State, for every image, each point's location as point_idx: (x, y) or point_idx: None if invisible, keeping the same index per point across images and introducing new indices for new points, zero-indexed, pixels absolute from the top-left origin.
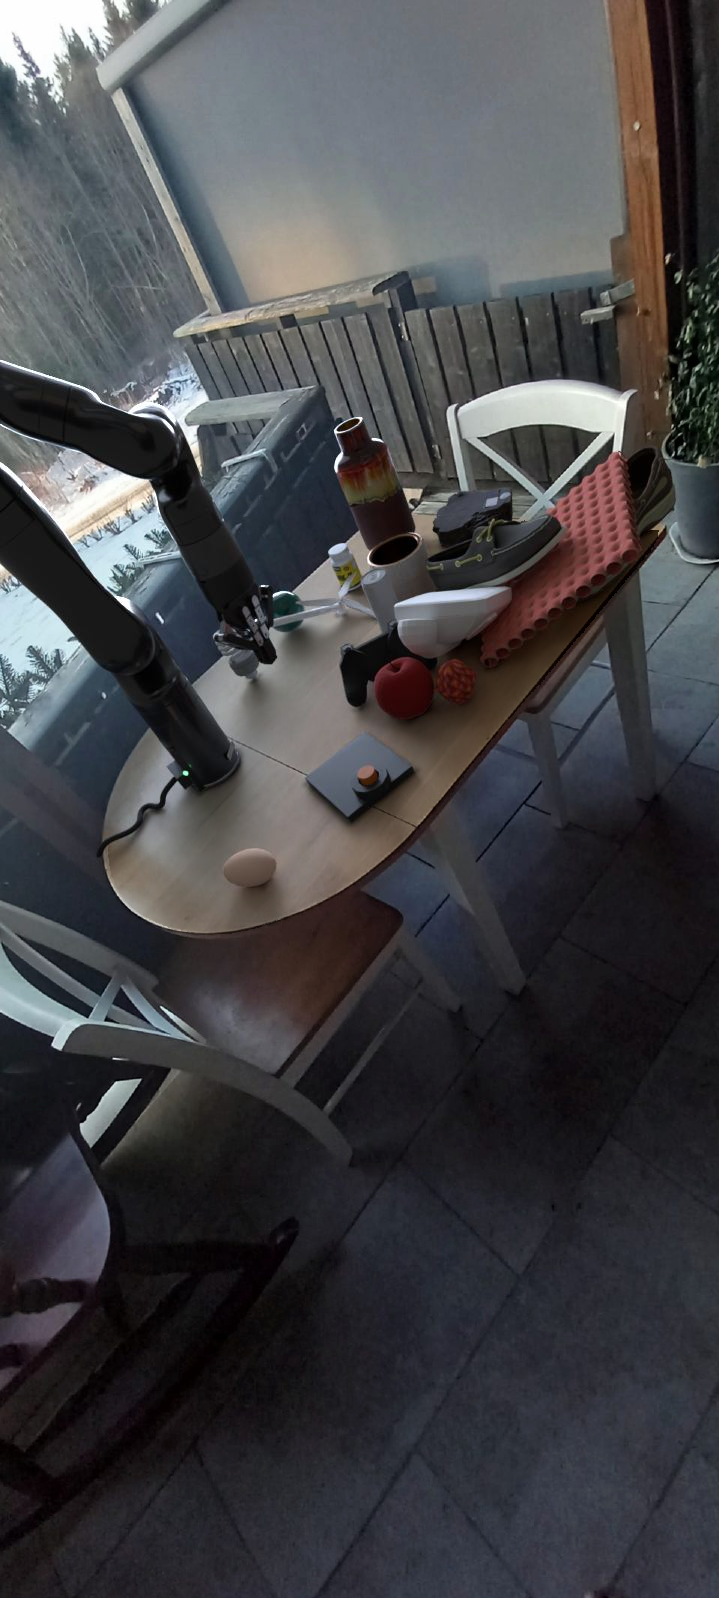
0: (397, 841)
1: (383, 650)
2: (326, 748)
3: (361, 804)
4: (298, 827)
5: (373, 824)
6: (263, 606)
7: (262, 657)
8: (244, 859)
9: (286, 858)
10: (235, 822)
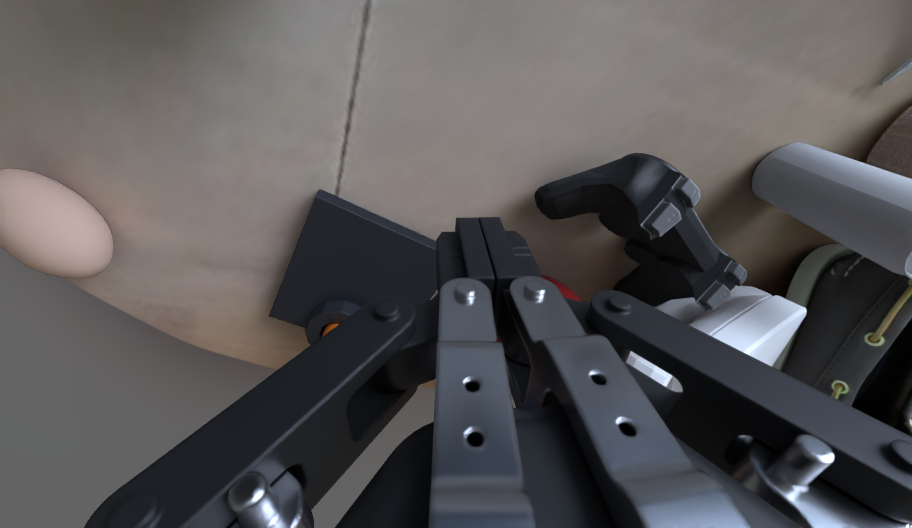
0: (276, 368)
1: (665, 249)
2: (419, 178)
3: (299, 324)
4: (220, 225)
5: (287, 333)
6: (691, 432)
7: (437, 283)
8: (20, 257)
9: (153, 239)
10: (140, 51)
